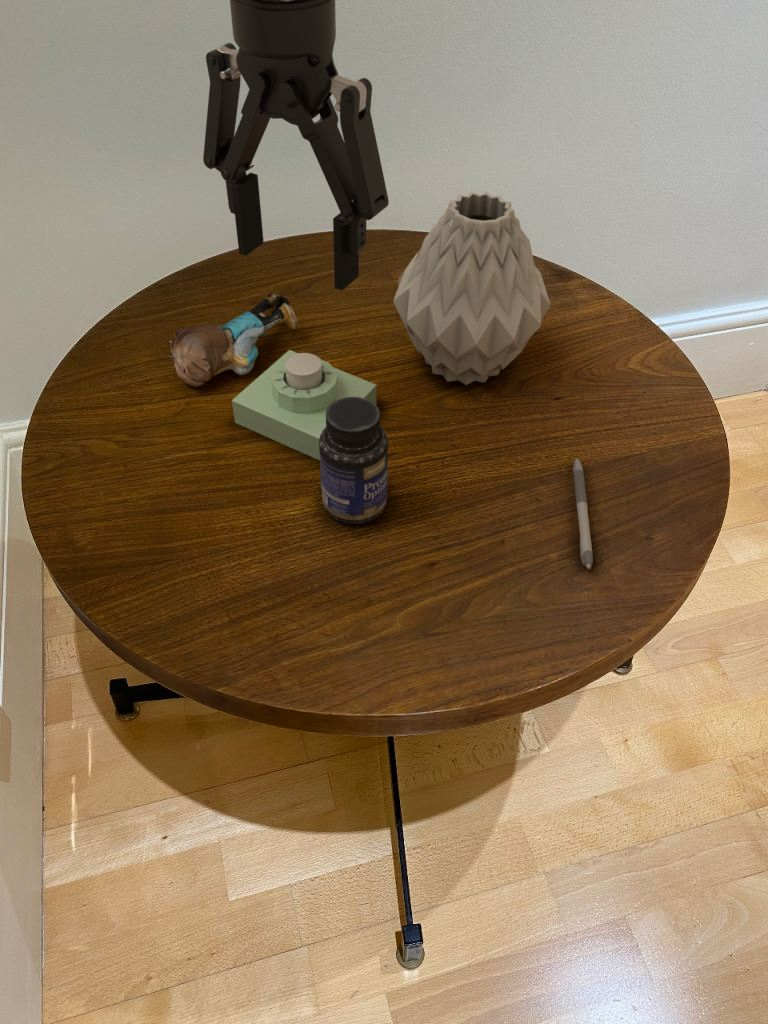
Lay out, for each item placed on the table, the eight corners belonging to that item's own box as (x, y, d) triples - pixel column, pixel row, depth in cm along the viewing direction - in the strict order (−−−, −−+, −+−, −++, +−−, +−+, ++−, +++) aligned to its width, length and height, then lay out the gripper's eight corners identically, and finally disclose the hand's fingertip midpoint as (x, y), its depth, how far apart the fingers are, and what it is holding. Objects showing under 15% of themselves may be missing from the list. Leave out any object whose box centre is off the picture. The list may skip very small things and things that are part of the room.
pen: (581, 574, 77) (584, 564, 76) (570, 465, 87) (572, 454, 86) (592, 575, 77) (595, 565, 76) (580, 465, 87) (583, 455, 86)
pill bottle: (374, 534, 80) (374, 444, 72) (312, 517, 81) (305, 428, 73) (395, 488, 84) (398, 399, 76) (336, 473, 85) (332, 384, 77)
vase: (551, 338, 101) (581, 185, 87) (513, 425, 91) (541, 266, 77) (419, 306, 105) (428, 155, 91) (368, 386, 94) (370, 229, 81)
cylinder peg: (279, 383, 87) (277, 367, 86) (299, 364, 89) (298, 348, 88) (309, 396, 86) (308, 379, 84) (329, 376, 88) (328, 360, 87)
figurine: (162, 372, 95) (152, 325, 91) (273, 316, 103) (269, 270, 98) (203, 404, 92) (195, 357, 87) (315, 344, 99) (312, 298, 95)
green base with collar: (234, 422, 90) (229, 384, 86) (290, 371, 96) (288, 334, 92) (323, 462, 86) (322, 424, 83) (376, 407, 92) (377, 369, 88)
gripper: (445, -1, 60) (427, 282, 77) (192, -56, 68) (225, 213, 84) (389, 31, 56) (383, 325, 72) (125, -32, 63) (173, 247, 80)
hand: (298, 264), depth 78 cm, fingers open, 10 cm apart
